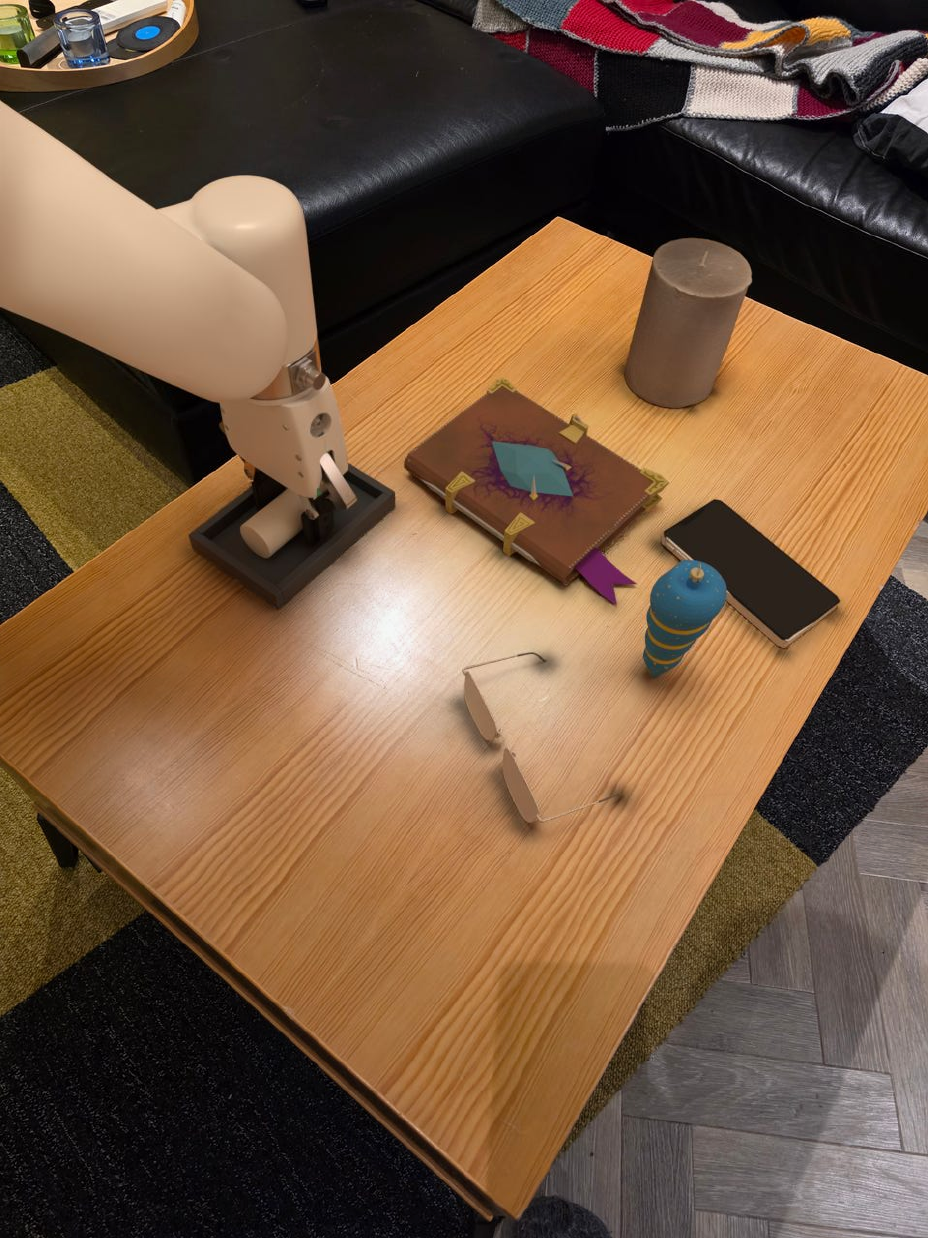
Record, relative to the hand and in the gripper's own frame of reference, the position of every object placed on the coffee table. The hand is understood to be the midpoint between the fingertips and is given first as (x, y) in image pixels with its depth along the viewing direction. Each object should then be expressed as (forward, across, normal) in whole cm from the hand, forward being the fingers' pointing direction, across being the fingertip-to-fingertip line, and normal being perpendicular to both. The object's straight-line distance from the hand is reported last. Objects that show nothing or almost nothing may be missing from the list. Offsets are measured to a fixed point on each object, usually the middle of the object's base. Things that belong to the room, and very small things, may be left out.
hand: (295, 518), depth 80 cm
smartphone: (+1, -35, -22) cm, 41 cm away
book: (+1, -16, -18) cm, 24 cm away
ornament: (+1, -34, -7) cm, 35 cm away
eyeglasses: (+1, -30, +4) cm, 30 cm away
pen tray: (+1, 0, 0) cm, 1 cm away
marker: (+1, 0, 0) cm, 1 cm away
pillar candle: (+1, -16, -41) cm, 44 cm away
